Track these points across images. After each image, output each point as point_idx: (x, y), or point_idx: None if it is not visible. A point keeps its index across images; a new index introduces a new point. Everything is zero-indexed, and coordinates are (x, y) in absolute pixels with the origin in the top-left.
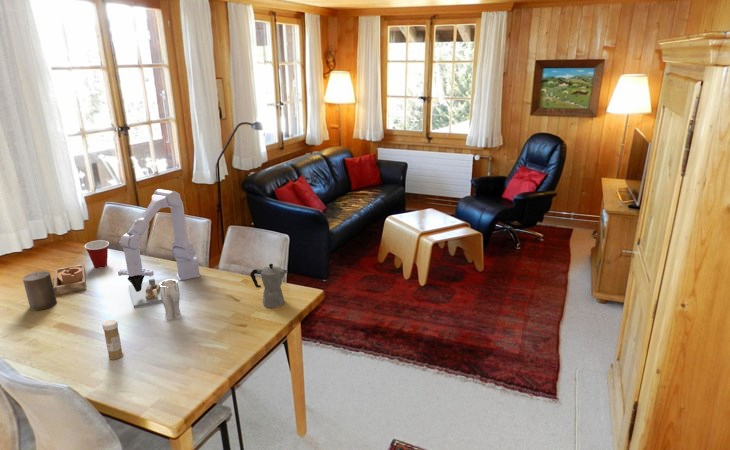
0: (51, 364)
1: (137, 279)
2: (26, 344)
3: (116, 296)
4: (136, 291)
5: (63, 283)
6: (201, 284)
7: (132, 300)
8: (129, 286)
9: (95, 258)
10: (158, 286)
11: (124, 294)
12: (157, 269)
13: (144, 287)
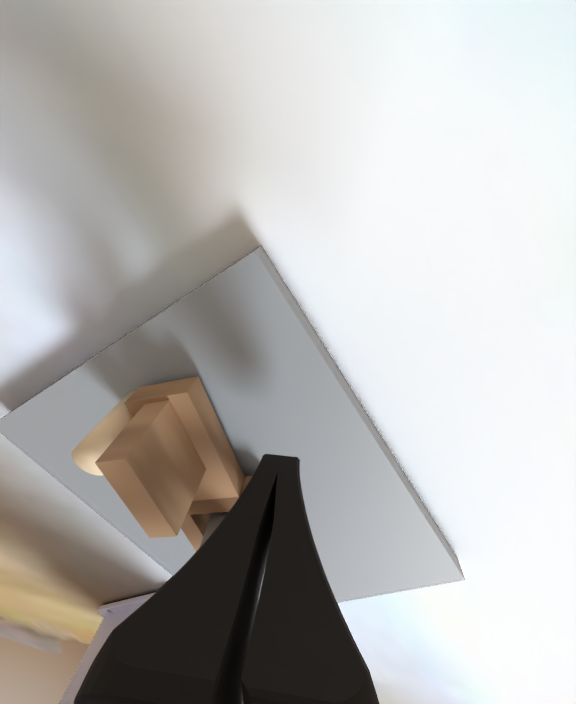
0: None
1: (116, 656)
2: None
3: (526, 461)
4: (292, 458)
5: None
6: (31, 545)
7: (324, 361)
8: (453, 568)
9: None
10: (191, 537)
11: (463, 484)
12: None
13: (328, 545)
